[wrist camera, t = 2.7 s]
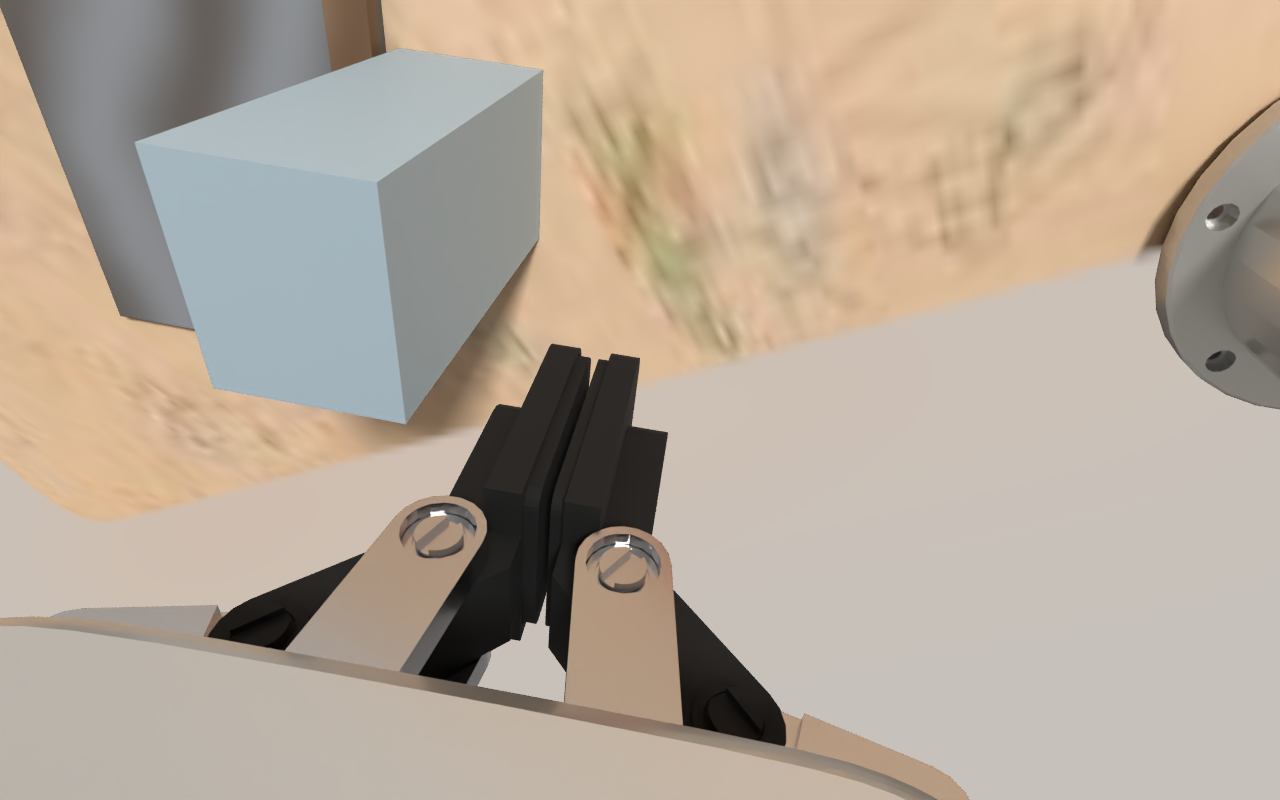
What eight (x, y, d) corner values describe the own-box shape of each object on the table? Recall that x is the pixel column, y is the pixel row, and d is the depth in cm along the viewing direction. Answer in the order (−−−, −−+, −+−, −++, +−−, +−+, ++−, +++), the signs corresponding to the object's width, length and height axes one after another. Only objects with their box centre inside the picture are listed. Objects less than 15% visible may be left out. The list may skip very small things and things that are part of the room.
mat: (357, -232, 19) (339, -239, 18) (417, 364, 31) (407, 376, 30) (-103, -291, 20) (-140, -300, 19) (126, 311, 32) (110, 322, 31)
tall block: (543, 69, 23) (376, 182, 13) (539, 238, 26) (405, 424, 17) (399, 47, 23) (134, 142, 13) (415, 217, 27) (213, 388, 17)
